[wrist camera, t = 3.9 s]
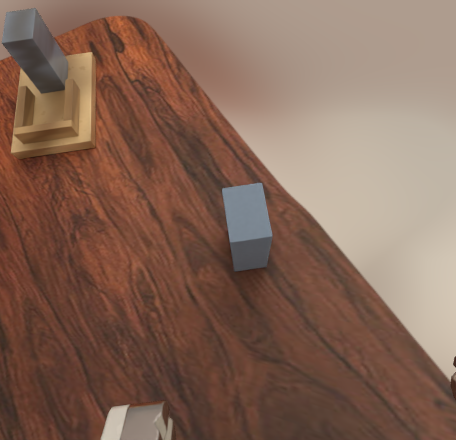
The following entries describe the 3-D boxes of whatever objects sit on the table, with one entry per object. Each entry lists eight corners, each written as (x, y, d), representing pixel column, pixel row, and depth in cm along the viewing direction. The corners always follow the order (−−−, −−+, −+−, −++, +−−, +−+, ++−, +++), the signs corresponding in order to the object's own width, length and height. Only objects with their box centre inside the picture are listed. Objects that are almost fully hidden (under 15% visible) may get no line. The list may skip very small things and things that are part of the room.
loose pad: (234, 271, 37) (229, 242, 28) (228, 228, 39) (221, 188, 30) (266, 266, 37) (272, 236, 28) (258, 224, 39) (261, 182, 30)
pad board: (18, 159, 44) (-40, 109, 35) (27, 70, 50) (-20, 8, 41) (95, 147, 44) (57, 95, 35) (96, 60, 50) (63, -4, 41)
